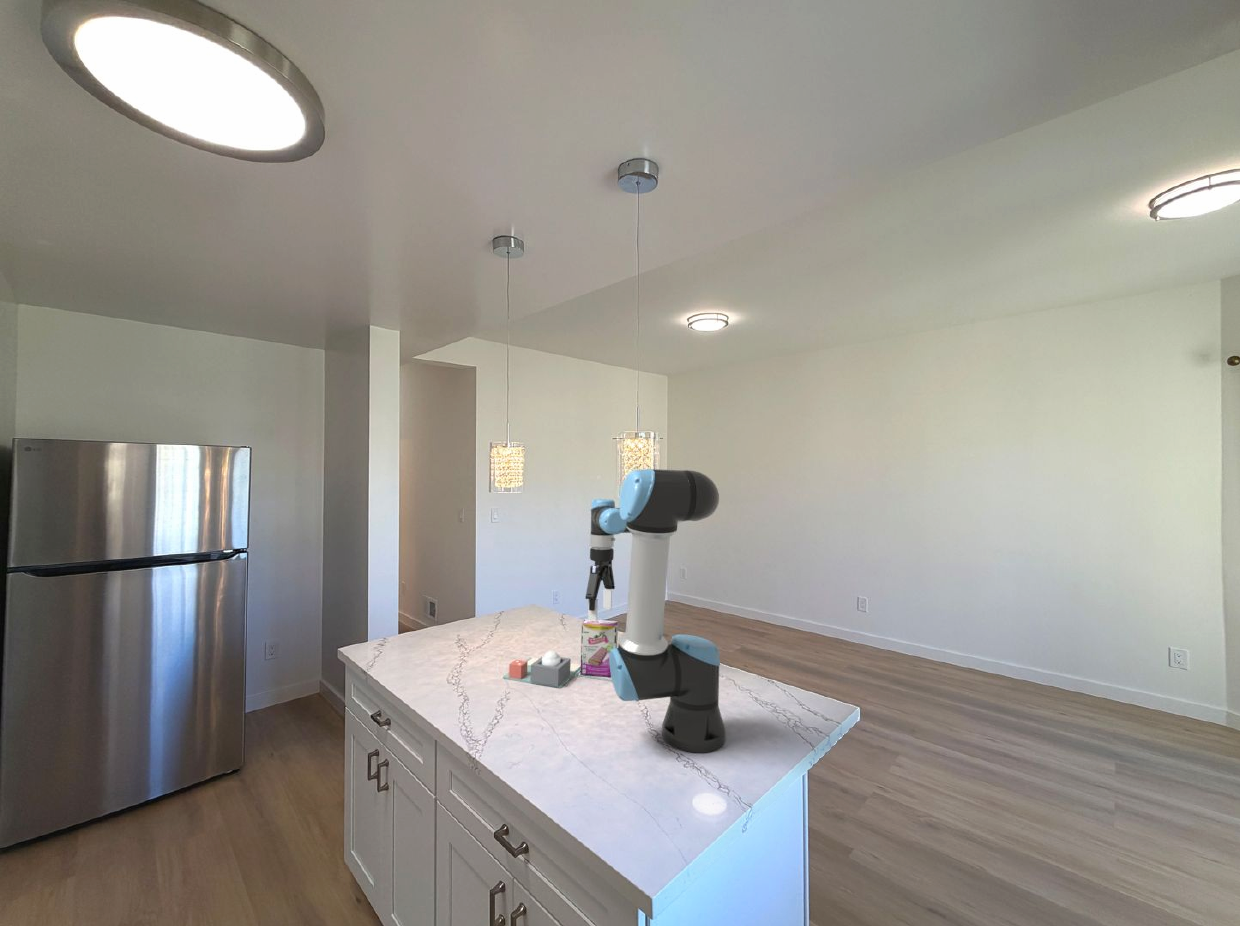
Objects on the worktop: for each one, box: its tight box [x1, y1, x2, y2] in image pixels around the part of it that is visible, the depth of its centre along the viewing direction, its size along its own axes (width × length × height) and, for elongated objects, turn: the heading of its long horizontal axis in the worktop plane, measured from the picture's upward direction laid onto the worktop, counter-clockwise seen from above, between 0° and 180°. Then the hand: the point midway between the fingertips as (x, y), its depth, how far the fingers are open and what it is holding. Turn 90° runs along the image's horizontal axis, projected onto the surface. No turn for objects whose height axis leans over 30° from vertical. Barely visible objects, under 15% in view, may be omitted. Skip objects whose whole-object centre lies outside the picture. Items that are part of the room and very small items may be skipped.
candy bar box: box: [580, 618, 619, 678], centre depth 157 cm, size 11×5×16 cm, turn 84°
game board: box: [502, 656, 581, 689], centre depth 157 cm, size 18×19×6 cm
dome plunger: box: [541, 650, 561, 667], centre depth 151 cm, size 6×6×6 cm
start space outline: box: [573, 668, 612, 682], centre depth 157 cm, size 8×14×1 cm, turn 72°
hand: (600, 614), depth 158 cm, fingers open, 13 cm apart
